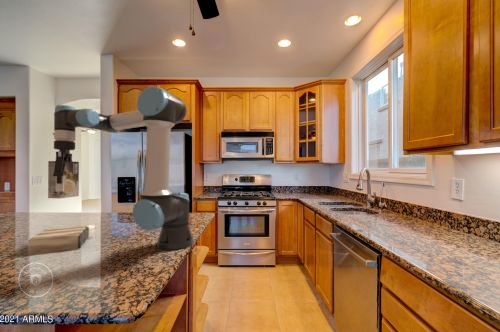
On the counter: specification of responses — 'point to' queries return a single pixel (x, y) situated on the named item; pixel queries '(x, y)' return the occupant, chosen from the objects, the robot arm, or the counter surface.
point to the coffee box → (69, 180)
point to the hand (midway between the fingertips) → (63, 190)
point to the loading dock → (58, 240)
